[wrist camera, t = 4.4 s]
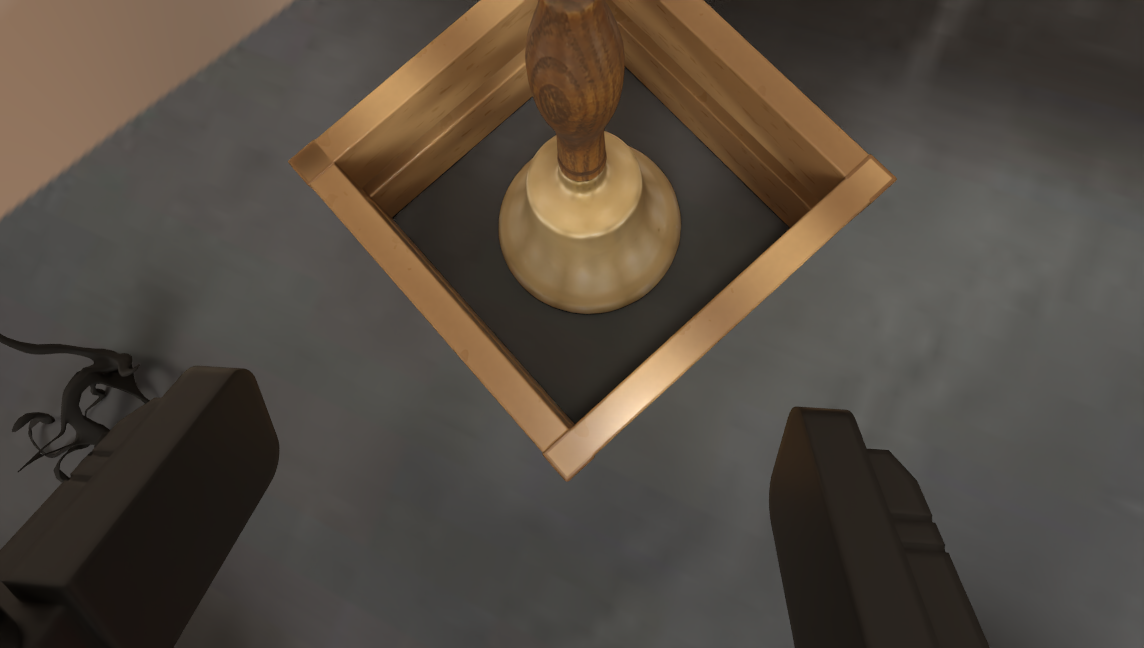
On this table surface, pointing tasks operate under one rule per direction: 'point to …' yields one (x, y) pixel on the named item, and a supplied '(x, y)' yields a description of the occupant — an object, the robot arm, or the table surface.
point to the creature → (79, 395)
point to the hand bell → (585, 175)
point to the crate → (500, 86)
